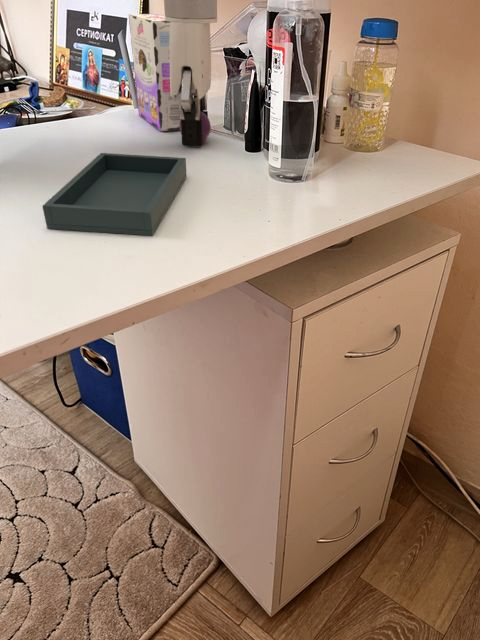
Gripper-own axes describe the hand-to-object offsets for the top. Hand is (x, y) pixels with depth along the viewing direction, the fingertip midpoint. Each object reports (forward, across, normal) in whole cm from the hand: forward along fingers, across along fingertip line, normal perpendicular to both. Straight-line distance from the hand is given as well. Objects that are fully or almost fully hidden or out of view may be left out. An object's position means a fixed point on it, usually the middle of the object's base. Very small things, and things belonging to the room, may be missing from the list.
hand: (195, 139), depth 87 cm
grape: (0, 0, 0) cm, 0 cm away
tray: (0, +27, -4) cm, 27 cm away
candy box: (+1, -12, -8) cm, 14 cm away
